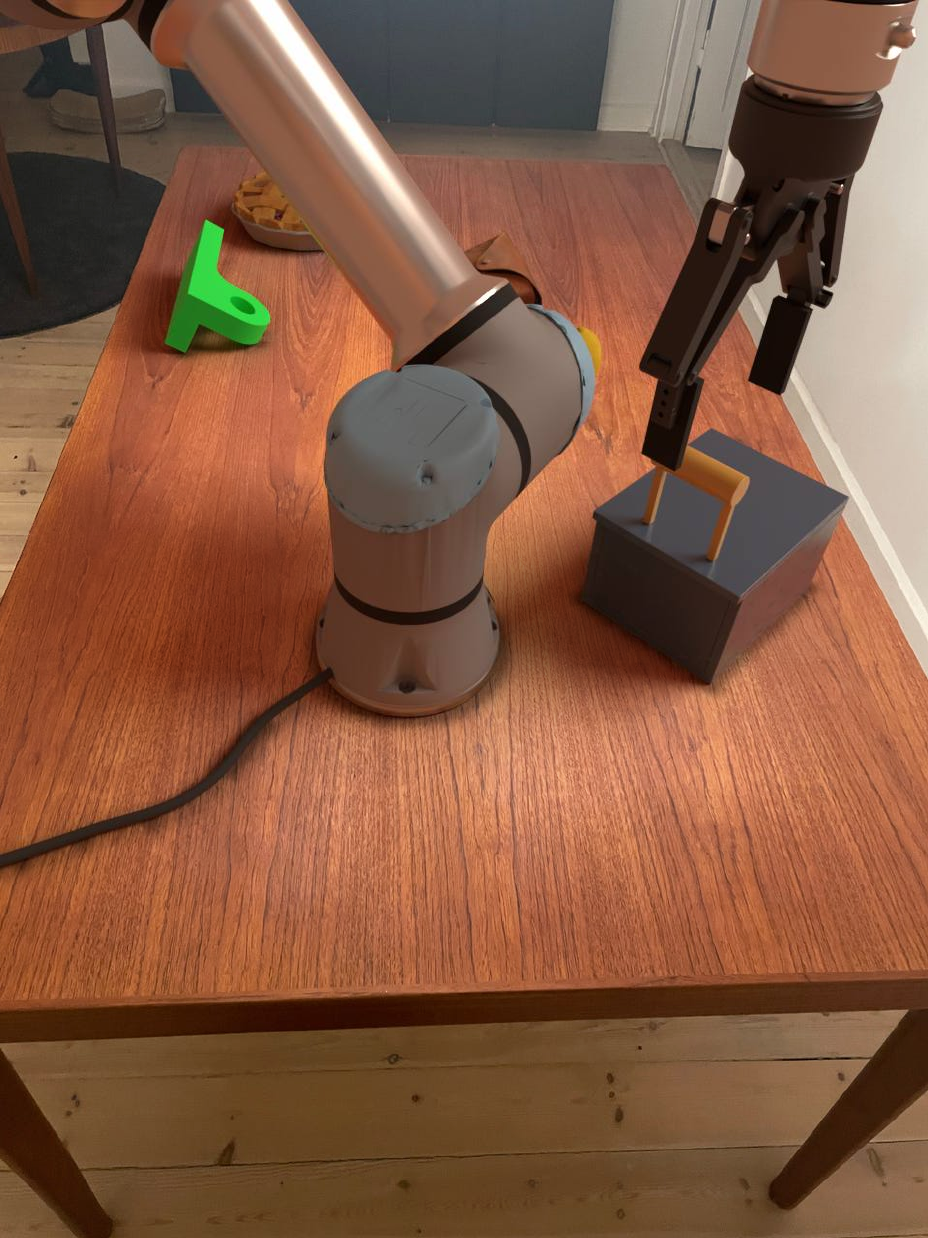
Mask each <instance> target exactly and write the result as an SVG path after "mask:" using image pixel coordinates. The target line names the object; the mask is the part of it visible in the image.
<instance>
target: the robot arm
mask: <svg viewBox="0 0 928 1238" xmlns="http://www.w3.org/2000/svg"><path fill="white" fill-rule="evenodd" d="M919 3H920V0H761V3H760V6H759V9H758V14H757V18H756V22H755V27H754V30H753V34H752V38H751V41H750V46H749V50H748V55H747V58H746V64H747V66H748V68H749V70H750V71H751V73H753V74H751V75H749V76H748V77H747V78H746V79H745V80H744V81H743V82H742V83H741V85H740V90H739V94H738V98H737V102H736V107H735V110H734V115H733V119H732V123H731V127H730V131H729V134H728V142H727V145H728V146H727V147H728V150H729V152H730V154H731V155H732V157H733V158H734V159H735V160H737V162H738V163H739V165H740V166H741V167H742V169H743V173H744V175H743V178H742V180H741V182H740V185H739V188H738V190H737V191H736V194H735V196H734V198H733V201H731V202H727V201H724V200H722V199H719V198H716V197H712V196H711V197H710V198H708V199H707V201H706V202H705V204H704V206H703V209H702V211H701V215H700V218H699V222H698V226H697V229H696V233H695V235H694V239H693V243H692V245H691V247H690V249H689V252H688V254H687V256H686V257H685V258H686V259H685V260H684V263H683V265H682V268H681V269H680V272H679V274H678V276H677V278H676V280H675V283H674V284H673V287H672V290H671V291H670V294H669V296H668V298H667V301H666V303H665V304H664V307H663V310H662V311H661V314H660V317H659V318H658V321H657V323H656V325H655V328H654V329H653V332H652V334H651V336H650V338H649V341H648V343H647V345H646V347H645V350H644V352H643V354H642V357H641V359H640V361H639V363H638V370H639V371H640V372H642V373H644V374H646V375H648V376H650V377H653V378H654V379H656V381H657V382H656V387H655V391H654V394H653V400H652V403H651V408H650V413H649V417H648V422H647V426H646V430H645V435H644V439H643V443H642V447H641V452H640V454H641V455H643V456H645V457H646V458H648V459H650V460H651V459H652V460H654V461H656V462H657V463H659V464H661V465H663V466H665V467H667V468H669V469H671V470H672V471H674V472H675V471H676V470H678V469H679V468H680V467H681V465H682V461H683V458H684V454H685V450H686V447H687V445H688V444H689V440H690V439H689V438H690V435H691V432H692V428H693V424H694V421H695V417H696V412H697V410H698V405H699V402H700V397H701V395H702V392H703V387H704V384H705V378H703V377H700V376H699V375H700V374H701V372H702V371H703V368H704V367H705V365H706V364H707V362H708V360H709V358H710V357H711V355H712V353H713V351H714V350H715V349H716V347H717V344H718V343H719V342H720V340H721V338H722V336H723V334H724V333H725V331H726V329H727V327H728V326H729V325H730V322H731V321H732V319H733V318H734V316H735V314H736V313H737V311H738V309H739V308H740V305H741V304H742V303H743V301H744V299H745V297H746V296H747V294H748V293H749V291H750V289H751V287H752V286H753V285H757V284H761V283H762V282H763V281H764V280H765V279H766V277H767V275H768V274H769V272H770V271H771V269H772V267H773V265H774V264H775V262H776V263H777V268H778V276H779V280H780V285H781V291H782V293H784V294H786V297H785V296H782V295H780V294H778V295H776V296H774V297H773V298H772V301H771V303H770V307H769V311H768V313H767V316H766V319H765V320H766V321H765V324H764V326H763V329H762V333H761V336H760V339H759V341H758V342H759V343H758V346H757V349H756V353H755V356H754V359H753V362H752V366H751V369H750V372H749V375H748V378H747V382H749V383H750V384H753V385H755V386H757V387H759V388H762V389H764V390H766V391H768V392H770V393H773V394H775V395H777V396H781V395H783V394H784V393H785V392H786V389H787V388H788V387H787V386H788V384H789V381H790V379H791V378H790V377H791V374H792V372H793V369H794V366H795V363H796V360H797V357H798V355H799V352H800V349H801V345H802V343H803V340H804V337H805V334H806V332H807V328H808V325H809V323H810V320H811V317H812V314H813V311H814V308H813V307H811V306H816V307H818V308H821V309H822V310H826V308H828V307H829V305H830V304H831V302H832V300H833V297H834V292H833V291H830V290H827V289H826V288H824V287H827V288H829V289H830V288H832V287H833V286H834V285H835V284H836V283H837V282H838V278H839V274H840V267H841V259H842V252H843V246H844V237H845V230H846V222H847V216H848V215H847V214H848V207H849V201H850V194H851V189H852V186H853V183H854V179H855V176H856V173H857V172H858V171H860V169H861V168H862V167H863V166H864V164H865V161H866V158H867V156H868V153H869V149H870V147H871V144H872V141H873V138H874V135H875V133H876V129H877V126H878V124H879V121H880V118H881V115H882V112H883V109H884V103H883V101H882V97H881V94H880V93H879V91H882V90H883V89H884V88H886V87H888V86H889V85H890V84H891V83H892V80H893V76H894V74H895V71H896V68H897V65H898V62H899V59H900V56H901V53H902V51H903V50H908V49H909V48H910V47H912V46H913V45H914V43H915V41H916V39H917V35H918V34H917V28H916V27H914V26H913V25H911V24H912V21H913V18H914V16H915V13H916V10H917V8H918V5H919ZM0 13H1V14H3V15H4V16H6V17H8V18H10V19H13V20H14V21H17V22H19V23H21V24H24V25H26V26H30V27H34V28H38V29H44V30H51V31H70V30H77V29H83V28H88V27H89V28H90V27H96V26H98V25H103V24H106V23H113V22H117V21H120V20H124V21H125V22H126V23H128V25H129V26H130V27H131V28H132V30H133V31H134V32H135V34H136V35H137V36H138V38H139V39H140V40H141V42H142V43H143V45H145V47H146V49H148V51H149V52H150V54H151V55H152V57H154V59H155V60H156V61H157V62H158V64H160V65H161V66H162V67H166V68H170V69H177V70H184V71H189V72H191V74H192V75H193V77H194V78H195V79H196V80H197V82H198V83H199V84H200V86H201V87H202V88H203V90H204V91H205V93H206V94H207V96H208V97H209V98H210V100H211V101H212V102H213V103H214V104H215V105H214V106H216V107H217V109H218V110H219V112H220V113H221V114H222V115H223V117H224V118H225V120H226V121H227V122H228V124H229V125H230V126H231V128H232V129H233V130H234V132H235V133H236V135H237V136H238V137H239V138H240V140H241V141H242V142H243V144H244V145H245V147H246V148H247V149H248V150H249V152H250V153H251V155H252V157H254V158H255V160H256V161H257V163H258V164H259V166H260V167H261V168H262V170H263V172H265V173H267V175H268V176H269V177H270V179H271V180H272V181H273V183H274V184H275V185H276V187H277V188H278V190H279V191H280V192H281V194H282V195H283V196H284V198H285V199H286V200H287V202H288V203H289V204H290V206H291V207H292V208H293V210H294V211H295V212H296V214H297V215H298V217H299V218H300V219H301V221H302V222H303V223H304V225H305V226H306V227H307V229H308V230H309V231H310V233H311V234H312V235H313V237H314V238H315V239H316V241H317V242H318V243H319V245H320V246H321V248H322V249H323V250H322V251H323V252H324V253H325V254H326V256H327V257H328V258H329V260H330V261H331V262H332V264H333V265H334V266H335V268H336V269H337V271H338V272H339V273H340V275H341V276H342V278H343V279H344V280H345V282H346V283H347V284H348V285H349V287H350V288H351V289H352V291H353V292H354V294H355V295H356V296H357V298H358V299H359V301H360V302H361V303H362V304H363V306H364V307H365V308H366V309H367V311H368V312H369V314H370V315H371V316H372V318H373V319H374V320H375V322H376V323H377V325H378V326H379V328H380V329H381V330H382V331H383V333H384V334H385V335H386V337H387V338H388V339H389V340H390V341H389V342H390V343H391V349H392V350H391V358H390V366H389V369H387V368H386V369H383V370H381V371H378V372H375V373H374V374H371V375H369V376H367V377H366V378H364V379H362V380H360V381H358V383H355V384H354V385H353V386H351V388H349V389H348V391H346V392H345V393H344V394H343V395H342V397H341V398H340V399H339V400H338V401H337V403H336V405H335V407H334V408H333V410H332V412H331V414H330V416H329V419H328V422H327V425H326V432H325V451H324V457H323V468H322V469H323V477H324V486H325V489H326V495H327V497H326V498H327V505H328V506H327V507H328V508H327V509H328V518H329V519H328V522H329V532H330V543H331V545H330V546H331V556H332V568H333V579H332V581H331V584H330V587H329V589H328V593H327V595H326V598H325V603H324V604H323V606H322V608H321V611H320V613H319V615H318V616H319V617H318V621H317V623H316V624H317V625H316V632H315V635H316V636H315V644H316V645H315V646H316V656H317V660H318V664H319V667H320V670H321V672H319V673H318V674H316V675H314V676H313V677H312V678H311V679H309V680H308V681H306V682H305V683H303V684H302V685H300V686H299V687H297V688H296V689H294V690H293V691H291V692H290V693H288V694H287V695H286V696H284V697H282V698H281V699H279V700H278V701H276V702H275V703H274V704H273V705H271V706H270V707H268V709H266V710H264V712H263V713H262V714H261V715H260V716H258V717H257V718H256V720H254V722H252V723H251V725H249V727H248V728H247V729H246V730H245V731H244V733H243V734H242V735H241V736H240V738H239V739H238V740H237V742H236V743H235V744H234V746H233V747H232V748H231V750H230V751H229V752H228V754H227V755H226V756H225V757H223V759H222V760H221V762H220V763H219V764H218V765H217V766H216V768H214V769H213V770H212V771H211V772H210V773H209V774H208V775H206V776H205V777H204V778H203V779H201V780H200V781H198V783H195V784H194V785H193V786H192V787H190V788H188V789H185V791H183V792H181V793H180V794H179V793H178V794H177V795H176V796H173V797H171V798H169V799H167V800H165V801H162V802H159V803H157V804H154V805H151V806H149V807H145V808H142V809H139V810H136V811H132V812H128V813H125V814H121V815H117V816H114V817H111V818H106V819H103V820H100V821H97V822H94V823H91V824H88V825H84V826H82V827H79V828H76V829H72V830H70V831H67V832H64V833H61V834H59V835H56V836H53V837H49V838H47V839H44V840H41V841H38V842H35V843H32V844H29V845H25V846H22V847H20V848H16V849H13V850H11V851H8V852H7V851H6V852H4V853H0V868H3V867H6V866H9V865H12V864H15V863H18V862H21V861H24V860H27V859H30V858H33V857H36V856H39V855H42V854H45V853H48V852H50V851H54V850H57V849H59V848H62V847H66V846H69V845H72V844H75V843H77V842H80V841H83V840H85V839H88V838H91V837H94V836H97V835H101V834H104V833H107V832H110V831H114V830H117V829H120V828H124V827H128V826H131V825H135V824H138V823H142V822H146V821H148V820H151V819H154V818H157V817H160V816H162V815H166V814H167V813H170V812H172V811H175V810H176V809H178V808H181V807H182V806H185V805H186V804H188V803H190V802H191V801H193V800H195V799H197V798H198V797H200V796H202V794H204V793H205V792H207V791H208V790H209V789H211V788H212V787H213V786H214V785H216V784H217V783H218V782H219V781H220V780H221V779H223V777H224V776H225V775H226V774H227V773H228V772H229V771H230V769H232V768H233V766H235V763H236V762H237V761H238V760H239V759H240V756H242V754H243V753H244V752H245V750H247V748H248V746H249V745H250V744H251V742H252V741H253V740H254V738H256V737H257V735H258V734H259V733H260V732H261V731H262V730H263V729H264V728H265V727H266V725H268V724H269V723H270V722H271V721H272V720H273V719H274V718H276V717H277V716H278V715H279V714H281V713H282V712H283V711H284V710H286V709H288V708H289V707H290V706H292V705H293V704H295V703H296V702H298V701H299V700H301V699H302V698H304V697H306V696H307V695H308V694H310V693H311V692H312V691H314V690H316V689H317V688H318V687H320V686H322V685H323V684H325V683H326V682H328V683H329V684H330V686H331V687H332V688H333V689H334V690H335V691H336V692H337V693H338V694H339V695H341V696H342V697H343V698H345V699H346V700H347V701H349V702H350V703H352V704H353V705H356V706H358V707H360V708H362V709H365V710H368V711H371V712H373V713H378V714H381V715H385V716H393V717H405V718H406V717H422V716H429V715H435V714H438V713H442V712H446V711H448V710H451V709H453V708H457V707H458V706H460V705H462V704H464V703H465V702H467V701H469V700H470V699H471V698H473V697H474V696H476V695H477V694H478V693H479V692H480V691H481V690H482V689H483V688H484V687H485V686H486V684H487V683H488V682H489V680H490V679H491V677H492V676H493V673H494V672H495V669H496V667H497V664H498V660H499V652H500V644H501V643H500V642H501V637H500V626H499V621H498V618H497V614H496V613H495V612H496V611H495V609H494V607H493V604H494V606H495V607H496V609H497V604H496V602H495V599H494V597H493V596H492V593H491V592H490V590H489V589H488V586H487V585H486V583H485V580H484V576H485V575H484V574H485V566H486V557H487V556H486V555H487V545H488V537H489V533H490V531H491V528H492V527H493V524H494V523H495V521H497V519H498V518H499V517H500V516H501V515H502V514H503V513H504V512H505V510H507V508H509V506H510V505H511V504H512V503H513V502H514V501H515V500H516V499H518V497H519V496H520V495H521V494H522V493H523V492H524V490H525V489H526V488H527V487H528V486H529V485H531V483H532V482H533V481H534V480H535V479H536V478H537V477H538V475H540V473H541V472H542V471H544V469H545V468H547V466H549V464H550V463H551V462H552V461H553V460H554V459H555V458H556V457H558V456H561V455H562V454H563V453H564V452H565V451H566V450H567V449H568V448H569V446H570V445H571V443H572V442H573V441H574V439H575V437H576V435H578V432H579V431H580V429H581V428H582V426H583V425H584V424H585V422H586V420H587V419H588V417H589V415H590V412H591V409H592V407H593V403H594V397H595V391H596V377H595V372H594V366H593V362H592V358H591V355H590V352H589V350H588V348H587V345H586V343H585V341H584V340H583V338H582V336H581V335H580V333H579V332H578V331H577V329H576V328H575V327H576V326H575V325H574V324H573V323H572V322H571V321H570V320H568V319H567V317H565V316H564V315H563V314H561V313H560V312H558V311H557V310H554V309H545V308H544V306H543V305H542V306H541V305H536V304H524V303H523V301H522V300H521V298H520V297H519V296H518V294H517V293H516V291H515V290H514V288H513V287H512V286H511V284H510V283H509V281H508V280H507V279H505V278H500V277H494V276H488V275H482V274H481V273H479V272H478V271H477V270H476V269H475V268H474V266H473V265H472V264H471V262H470V261H469V259H468V258H467V256H466V255H465V254H464V252H465V251H464V250H463V249H462V247H461V246H460V244H458V242H457V241H456V239H455V238H454V237H453V235H452V233H451V232H450V231H449V229H448V228H447V226H446V225H445V223H444V222H443V220H442V219H441V218H440V216H439V215H438V213H437V212H436V211H435V209H434V208H433V206H432V205H431V204H430V201H428V199H427V198H426V196H425V195H424V194H423V192H422V190H421V189H420V188H419V186H418V184H417V183H416V181H414V179H413V178H412V176H411V175H410V174H409V172H408V170H407V169H406V168H405V166H404V165H403V163H402V162H401V160H400V159H399V158H398V156H397V155H396V154H395V152H394V151H393V148H391V146H390V144H388V143H389V142H387V140H386V139H385V137H384V136H383V135H382V133H381V132H380V131H379V128H378V127H377V126H376V125H375V123H374V122H373V120H372V119H371V117H370V116H369V114H368V113H367V112H366V110H365V109H364V107H363V106H362V105H361V103H360V102H359V100H358V99H357V97H356V96H355V95H354V93H353V92H352V90H351V89H350V87H349V86H348V84H347V83H346V82H345V80H344V79H343V77H342V75H340V73H339V72H338V70H337V69H336V67H335V66H334V64H333V63H332V62H331V60H330V58H328V56H327V54H326V53H325V52H324V50H323V48H322V47H321V46H320V44H319V43H318V42H317V40H316V39H315V37H314V36H313V35H312V33H311V31H310V30H309V28H308V27H307V26H306V24H305V23H304V21H303V20H302V18H301V16H299V14H298V12H297V11H296V10H295V9H294V7H293V6H292V5H291V3H290V2H289V0H0ZM822 263H823V264H822ZM492 603H493V604H492Z"/></svg>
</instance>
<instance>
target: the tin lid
mask: <svg viewBox="0 0 928 1238" xmlns="http://www.w3.org/2000/svg"><path fill="white" fill-rule="evenodd" d="M650 463H651V465H652V466H655V467H654V468H653V469H650V470H649V471H648V472H646V473H645V474H644V475H642V476H640V478H638V479H637V480H635V481H633V482H632V483H631V484H630V485H628V486H627V487H625V488H623V489H622V490H621V491H619V492H618V493H617V494H615V495H613V497H611V498H610V499H608V500H607V501H606V502H604V503H603V504H601V505H600V506H598V507H597V508H595V509H594V510H593V512H592V516H591V519H592V520H594V521H596V522H597V521H598V522H599V523H601V524H603V525H604V526H606V527H608V528H609V529H611V530H613V531H614V532H616V533H618V534H619V535H621V536H623V537H624V538H626V539H628V540H629V541H631V542H633V543H634V544H636V545H638V546H639V547H641V548H643V549H644V550H646V551H648V552H649V553H651V554H653V555H654V556H656V557H658V558H659V559H661V560H663V561H665V562H666V563H668V564H670V565H671V566H673V567H675V568H676V569H678V570H680V571H681V572H683V573H685V574H686V575H688V576H690V577H691V578H693V579H695V580H696V581H698V582H700V583H701V584H703V585H705V586H706V587H708V588H710V589H711V590H713V591H715V592H716V593H718V594H720V595H721V596H723V597H725V598H726V599H728V600H730V601H732V602H733V603H735V604H738V603H740V602H741V601H742V600H743V599H744V598H745V597H746V596H747V595H748V594H749V593H750V592H751V591H753V590H754V589H755V588H756V587H757V586H758V585H759V584H760V583H761V582H762V581H763V580H765V579H766V578H767V577H768V576H769V575H770V574H771V573H772V572H773V571H774V570H775V569H776V568H778V567H779V566H780V565H781V564H782V563H783V562H784V561H785V560H786V559H787V558H788V557H790V556H791V555H792V554H793V553H794V552H795V551H796V550H797V549H798V548H799V547H800V546H801V545H803V544H804V543H805V542H806V541H807V540H808V539H809V538H810V537H811V536H812V535H813V534H814V533H816V532H817V531H818V530H819V529H820V528H821V527H822V526H823V525H824V524H825V523H826V522H828V521H829V520H830V519H831V518H832V517H833V516H834V515H835V514H836V513H837V512H838V511H839V510H841V509H842V508H843V507H844V506H845V505H847V504H848V501H849V500H850V496H848V495H846V494H844V493H842V492H841V491H838V490H837V489H835V488H832V487H830V486H828V485H826V484H824V483H822V482H820V481H819V480H817V479H815V478H812V477H811V476H808V475H807V474H805V473H802V472H800V471H798V470H796V469H794V468H793V467H790V466H788V465H787V464H785V463H782V462H780V461H778V460H776V459H774V458H773V457H770V456H769V455H767V454H765V453H763V452H760V451H758V450H756V449H754V448H753V447H751V446H748V445H746V444H744V443H742V442H741V441H739V440H736V439H735V438H733V437H731V436H729V435H727V434H724V433H722V432H721V431H718V430H716V429H715V428H713V427H711V428H709V429H708V430H706V431H705V432H703V433H702V434H701V435H699V436H698V437H696V438H695V439H693V440H692V441H690V442H688V443H687V447H686V450H685V454H684V458H683V461H682V465H681V467H680V468H679V469H678V470H676V471H675V472H674V471H672V470H671V469H669V468H667V467H665V466H663V465H661V464H659V463H657V462H656V461H654V460H652V459H650ZM845 507H846V506H845Z"/></svg>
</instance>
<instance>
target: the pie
mask: <svg viewBox="0 0 928 1238" xmlns="http://www.w3.org/2000/svg"><path fill="white" fill-rule="evenodd" d="M230 207H231V208H230V211H231V212H232V213H233V214H234V215H235V216H236V217H237V219H239V221H240V223H241V224H242V226H243V228H244V229H245V231H246V232H247V234H249V236H250V237H251V238H252V239H253V241H255V242H259V243H261V244H265V245H266V246H270V247H272V248H280V249H287V250H293V251H324V250H323V249H322V248H321V246H320V245H319V243H318V242H317V241H316V239H315V238H314V237H313V235H312V234H311V233H310V231H309V230H308V229H307V227H306V226H305V225H304V223H303V222H302V221H301V219H300V218H299V217H298V215H297V214H296V212H295V211H294V210H293V208H292V207H291V206H290V204H289V203H288V202H287V200H286V199H285V198H284V196H283V195H282V194H281V192H280V191H279V190H278V188H277V187H276V185H275V184H274V183H273V181H272V180H271V179H270V177H269V176H268V175H267V173H266V172H265V171H262V172H259V173H256V174H255V175H254V176H253V179H252V180H248V179H244V180H243V181H241V182H240V183H239V185H238V190H236V191H233V193H232V197H231V206H230Z"/></svg>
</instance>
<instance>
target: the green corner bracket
mask: <svg viewBox="0 0 928 1238" xmlns="http://www.w3.org/2000/svg"><path fill="white" fill-rule="evenodd" d="M224 232H225V229H224V228H222V227H220V226H219V225H217V224H214V223H213V222H211V221H209V220H207V219H205V220H204V221H203V225H202V226H201V229H200V231H199V233H198V235H197V238H196V240H195V242H194V244H193V246H192V248H191V252H190V254H189V256H188V258H187V261H186V264H185V267H184V269H183V272H182V275H181V279H180V282H179V286H178V290H177V294H176V297H175V302H174V305H173V310H172V313H171V317H170V321H169V325H168V329H167V333H166V336H165V340H164V344H165V345H167V346H170V347H172V348H174V349H175V350H178V351H180V352H182V353H185V354H186V352H187V350H188V348H189V346H190V344H191V342H192V340H193V338H194V336H195V334H196V332H197V330H198V328H199V325H201V326H202V327H205V328H207V329H209V330H211V331H214V332H215V333H218V334H219V335H221V336H224V337H225V338H227V339H229V340H231V341H233V342H236V343H239V344H243V345H250V346H251V345H255V344H258V343H259V342H260V341H261V338H262V337H263V335H264V333H265V331H266V329H267V328H268V326H269V324H270V322H271V315H270V312H269V311H268V309H267V307H266V306H265V305H264V304H263V303H262V302H261V301H260V300H259V299H257V298H256V297H255V296H253V295H252V294H251V293H249V292H247V291H245V290H243V289H241V288H239V287H238V286H236V285H233V284H232V283H230V282H229V281H228V280H227V279H225V278H224V277H223V276H222V275H221V274H220V273H219V271H218V262H219V258H220V252H221V247H222V242H223V238H224Z"/></svg>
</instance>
